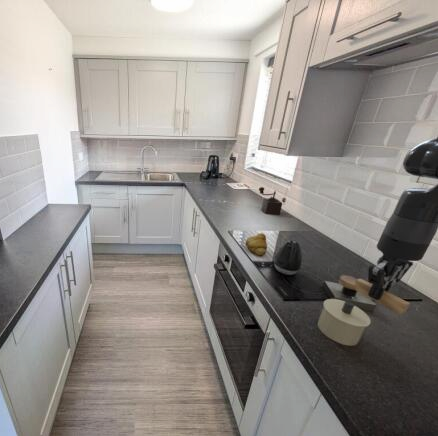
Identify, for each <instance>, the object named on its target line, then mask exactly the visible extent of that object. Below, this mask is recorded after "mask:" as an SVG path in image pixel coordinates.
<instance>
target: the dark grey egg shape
mask: <svg viewBox="0 0 438 436" xmlns="http://www.w3.org/2000/svg"><path fill="white" fill-rule="evenodd" d="M302 262H303V252H302V247H301V245H300V243H299V241H297V240H295V239H288V240H286V241H285V242H284V243H282V245H280V247H279V249H278V250H277V252H276V254H275V256H274V258H273V263H274V268H275V270H277V271H278V273H281V274H283V275H288V276H292V275H295V274H297V273H298V272H299V271H300V270H301V269H302Z"/></svg>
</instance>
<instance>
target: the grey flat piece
mask: <svg viewBox="0 0 438 436" xmlns="http://www.w3.org/2000/svg"><path fill="white" fill-rule="evenodd" d="M322 287H323V288H322ZM321 288H322V290H323V291H324V290H325V291H324V292H325V294H326V293H327V294H326V295H327V297H328V296H329V297H328V299H329V298H330V299H338V300H342V301H349V302H351V303H353V304H354V306H356V307H358V308H359V309H361V310H362V311H366V312H371V313H373V312H374V311H375V309H376V307H377V304H376V303H375V301H374V300H372V299H370V298H369V297H367V296H365V295H363V294H361V293H360V292H358V291H357V293H356V295H354V296H352V295H348V294H346V293H344V292H343V291H342V288H343V286H342V285H341V284H340V283H339V282H332V281H328V280H324V281H323V284H322V286H321Z"/></svg>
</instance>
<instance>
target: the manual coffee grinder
mask: <svg viewBox="0 0 438 436" xmlns="http://www.w3.org/2000/svg"><path fill="white" fill-rule="evenodd" d="M258 191H259V194H261V196H271V197H268V198H265V197H264V198H263V200H262V204H261V208H260V210H261V212H262V213H263V214H265V215H271V216H272V215H273V216H280V214H281V211H282V206H283V202H282V201H281V200H279V199H278V198H276V194H277V191H276V190H274V191H273V193H265V187H263V186H260V187H259V188H258Z"/></svg>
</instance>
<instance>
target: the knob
mask: <svg viewBox="0 0 438 436" xmlns="http://www.w3.org/2000/svg"><path fill="white" fill-rule="evenodd" d="M342 291H343V292H344V293H346V294H348V295H352V296H354V295H356V293H357V291H356V290H353V289H349V288H346V287H344V286H343V288H342Z"/></svg>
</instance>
